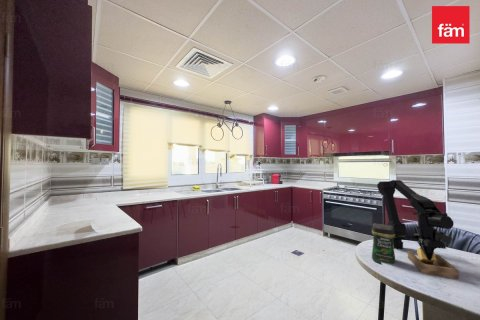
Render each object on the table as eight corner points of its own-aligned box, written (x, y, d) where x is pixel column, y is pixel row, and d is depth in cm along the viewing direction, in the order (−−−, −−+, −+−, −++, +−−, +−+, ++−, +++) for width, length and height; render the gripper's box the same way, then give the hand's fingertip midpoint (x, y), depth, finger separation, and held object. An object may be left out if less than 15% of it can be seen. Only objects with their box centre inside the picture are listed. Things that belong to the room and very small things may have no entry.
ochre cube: (422, 258, 95) (419, 247, 98) (419, 260, 99) (416, 250, 102) (436, 260, 93) (433, 249, 96) (432, 262, 97) (429, 251, 99)
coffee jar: (371, 262, 100) (371, 224, 101) (372, 256, 107) (371, 221, 107) (396, 267, 95) (395, 228, 95) (395, 261, 101) (394, 224, 102)
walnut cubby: (421, 275, 88) (421, 264, 88) (407, 259, 102) (407, 250, 102) (458, 281, 83) (458, 270, 83) (438, 264, 98) (438, 254, 98)
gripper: (459, 230, 85) (464, 269, 83) (438, 224, 102) (441, 257, 99) (426, 227, 90) (429, 264, 87) (410, 222, 106) (413, 253, 104)
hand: (429, 259), depth 94 cm, fingers closed, pressing on ochre cube
